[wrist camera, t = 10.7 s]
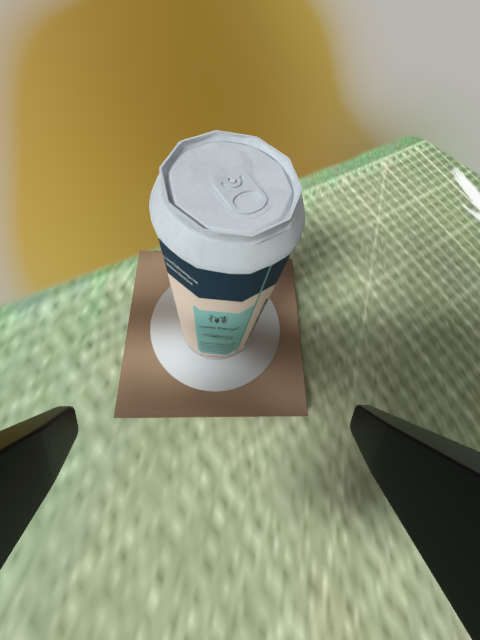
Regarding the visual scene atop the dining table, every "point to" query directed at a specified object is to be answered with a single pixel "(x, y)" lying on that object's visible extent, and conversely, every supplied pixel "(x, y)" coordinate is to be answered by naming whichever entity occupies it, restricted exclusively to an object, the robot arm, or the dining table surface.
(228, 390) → the plate
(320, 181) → the dining table surface
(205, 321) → the beer can
